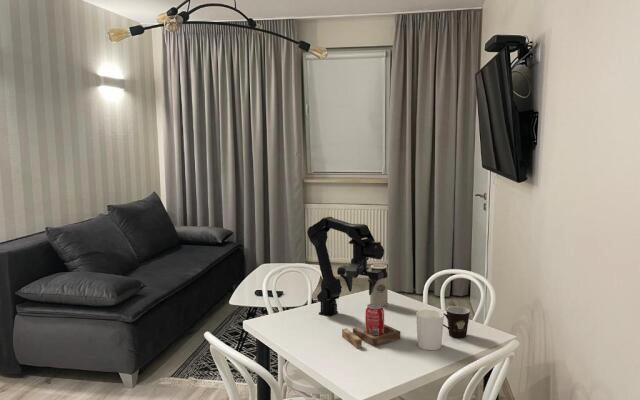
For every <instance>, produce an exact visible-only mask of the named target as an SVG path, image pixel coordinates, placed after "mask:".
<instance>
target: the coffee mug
mask: <svg viewBox="0 0 640 400" xmlns="http://www.w3.org/2000/svg"><path fill="white" fill-rule="evenodd" d="M442 313H443V312H442ZM470 313H471V310H470V309H469V308H467V307H464V306H456V305H455V306H448V307H446V313H443V314H444V317H446V319H447V325H446V324H444V323H443V328H444V327H445V328H446V329H447V330H448V336H450V338H454V339H465V338H467V335H468V334H467V333H468V328H469V327H468V326H469V320H470Z"/></svg>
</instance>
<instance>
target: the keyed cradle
mask: <svg viewBox="0 0 640 400" xmlns="http://www.w3.org/2000/svg"><path fill="white" fill-rule="evenodd" d="M352 333H354V334H355V335H356V336H358V337H359V338H360V339H362V342H364V343H366V344H368V345H370V346H371V347H378V346H380V345H384V344H388V343H391V342H395V341H398V340H401V331H400V330H398V329H396V328H393V327H391V326H389V325H387V324H385V323H384V334H383V335H380V336H376V337H374V336H372V335H370V334H368V333H366V330H364V331H363V330H362V329H359V328H357V327H353V328H352Z"/></svg>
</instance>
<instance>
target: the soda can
mask: <svg viewBox="0 0 640 400" xmlns="http://www.w3.org/2000/svg"><path fill="white" fill-rule="evenodd" d="M366 306H367V307H366V309H365V331H366V333H368V334H370V335H372V336H374V337H376V336H380V335H383V334H384V324H385V310H384V308H383V306H382V305H381V304H370V303H368V304H367V305H366Z"/></svg>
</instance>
